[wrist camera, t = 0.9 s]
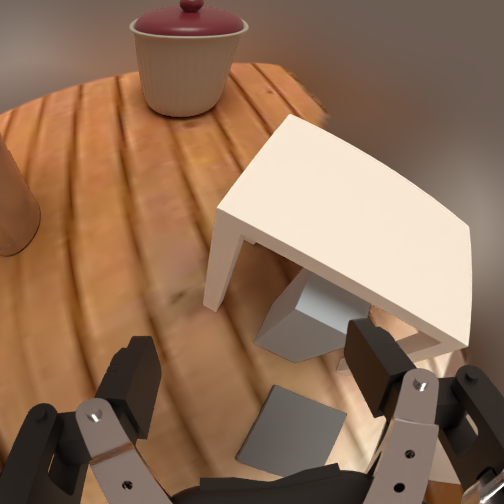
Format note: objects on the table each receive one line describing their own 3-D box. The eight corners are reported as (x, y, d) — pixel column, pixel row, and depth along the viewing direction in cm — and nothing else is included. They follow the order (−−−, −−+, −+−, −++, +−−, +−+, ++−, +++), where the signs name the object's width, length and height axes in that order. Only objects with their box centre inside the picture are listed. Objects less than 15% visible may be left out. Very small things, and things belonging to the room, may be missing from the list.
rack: (347, 376, 28) (468, 346, 14) (202, 305, 29) (216, 207, 14) (372, 296, 34) (469, 226, 19) (248, 229, 35) (289, 113, 20)
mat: (311, 482, 22) (313, 484, 21) (235, 458, 22) (236, 460, 22) (343, 413, 26) (347, 413, 26) (273, 384, 27) (275, 384, 26)
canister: (137, 82, 46) (138, -10, 28) (224, 79, 51) (242, -10, 33) (128, 135, 39) (120, 11, 20) (239, 129, 43) (269, 12, 25)
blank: (294, 363, 28) (360, 341, 17) (253, 342, 28) (295, 308, 17) (311, 323, 31) (377, 279, 19) (272, 303, 31) (320, 247, 20)
